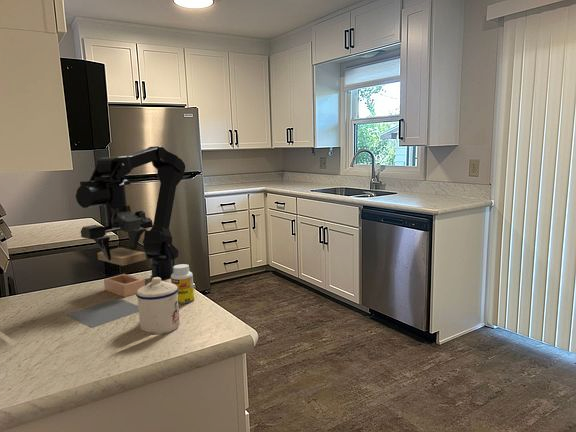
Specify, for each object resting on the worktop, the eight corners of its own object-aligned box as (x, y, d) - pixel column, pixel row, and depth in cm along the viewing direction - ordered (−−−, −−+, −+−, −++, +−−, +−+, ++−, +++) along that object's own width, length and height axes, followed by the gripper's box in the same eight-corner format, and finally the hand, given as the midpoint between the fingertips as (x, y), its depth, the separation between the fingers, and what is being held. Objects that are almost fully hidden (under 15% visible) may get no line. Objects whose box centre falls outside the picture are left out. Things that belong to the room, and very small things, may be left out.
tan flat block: (121, 253, 126) (120, 247, 126) (146, 259, 118) (145, 252, 118) (98, 259, 121) (97, 252, 120) (122, 265, 113) (121, 258, 112)
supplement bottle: (169, 307, 108) (166, 269, 107) (177, 300, 114) (174, 263, 112) (190, 307, 108) (187, 268, 106) (197, 299, 113) (194, 263, 112)
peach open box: (125, 286, 128) (124, 273, 127) (145, 293, 121) (144, 279, 120) (105, 292, 123) (103, 279, 122) (125, 299, 116) (123, 285, 115)
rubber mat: (118, 301, 115) (117, 298, 115) (147, 311, 106) (146, 308, 106) (65, 317, 104) (64, 314, 104) (92, 331, 95) (92, 327, 95)
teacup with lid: (183, 331, 93) (179, 280, 92) (140, 339, 90) (135, 286, 88) (177, 312, 104) (173, 267, 103) (138, 319, 101) (134, 272, 100)
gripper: (97, 209, 105) (104, 269, 107) (161, 199, 119) (166, 253, 122) (76, 206, 112) (83, 263, 114) (139, 198, 126) (144, 248, 128)
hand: (121, 257), depth 119 cm, fingers closed on tan flat block, 7 cm apart
